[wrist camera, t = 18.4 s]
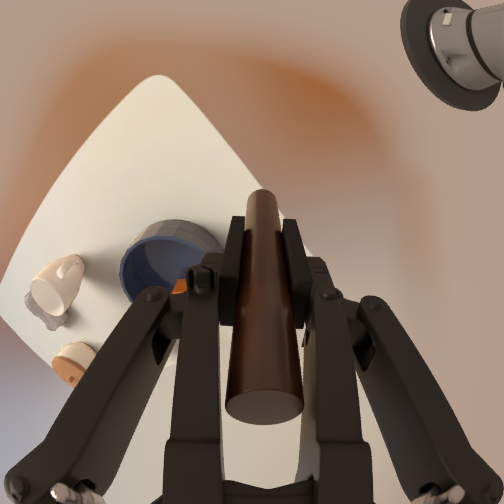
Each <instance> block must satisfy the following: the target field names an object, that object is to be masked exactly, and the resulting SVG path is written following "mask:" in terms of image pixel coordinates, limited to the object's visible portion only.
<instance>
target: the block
mask: <svg viewBox="0 0 504 504" xmlns="http://www.w3.org/2000/svg"><path fill="white" fill-rule="evenodd" d="M186 290H187V284H186V279H177V282H176V284H175V287H174V289H173V291H172V294H176V293H181V292H184V291H186Z"/></svg>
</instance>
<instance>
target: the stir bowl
mask: <svg viewBox="0 0 504 504" xmlns="http://www.w3.org/2000/svg"><path fill="white" fill-rule="evenodd" d="M207 252H217V253H224V250H223V248H222V247H221V245H220V244H219V242H218V241H217V240H216V239H215V238H214V237H213V236H212V235H211V234H210V233H209V232H208V231H206V230H205V229H203V228H202V227H200V226H198V225H196V224H193V223H190V222H187V221H182V220H164V221H160V222H157V223H154V224H152V225H150V226H149V227H147V228H146V229H145V230H144V231H143V232H142V233H140V234H139V236H138V237H137V238H136V239H135V240H134V242H133V243H132V244H131V245H130V247H129V248H128V249H127V251H126V253H125V254H124V256H123V258H122V260H121V264H120V273H119V276H120V280H121V284H122V288H123V290H124V292H125V294H126V295H127V297H128V299H129V301H130V302H131V303H133V302H134V301H135V299H136V298H137V296H138V295H139V294H140V293H141V292H142V291H143V290H144V289H146V288H148V287H152V286H160V287H163V288H165V289H167V290H168V292H169V294H172V291H173V289H174V287H175V284H176V282H177V279H186V273H185V272H186V270H187V269H188V268H189V267H191V266H193V265H196V264H200V262H201V259H202V257H203V256H204V255H205V254H206V253H207Z"/></svg>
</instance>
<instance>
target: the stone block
mask: <svg viewBox="0 0 504 504" xmlns="http://www.w3.org/2000/svg"><path fill="white" fill-rule="evenodd" d="M24 303H25V304H26V307H27V308H28V309H29V310H30V311H31V312H32V313H33V314H34V315H35V316H37V317H39V318H40V319H41V320H42V321H43V322H44V323H45V325H46V327H47V329H48V330H51V331H56V329H57V328H58V327H60V326H61V325H62V324H64V323H65V322H66V320H67V319H68V317H69V316H68V314H67V312H66V311H65V312H64V313H63V314H62V315H60V316H53V315H51V314H49V313H47V312H45V311H44V310H43V309H42V308H41V307H40V306H39V305H38V304H37V303H36V301H35V300H34V298H33V296H32V293H31V291H30V292H29V293H27V294H26V296H25V297H24Z"/></svg>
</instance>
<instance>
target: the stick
mask: <svg viewBox="0 0 504 504" xmlns="http://www.w3.org/2000/svg"><path fill="white" fill-rule="evenodd" d="M304 406H305V403H304V394H303V385H302V376H301V367H300V359H299V351H298V343H297V335H296V327H295V319H294V312H293V305H292V298H291V291H290V284H289V277H288V270H287V263H286V257H285V250H284V244H283V238H282V231H281V225H280V219H279V213H278V207H277V201H276V198H275V196H274V195H273V193H271V192H270V191H268V190H264V189H260V190H256V191H254V192H253V193H252V194H251V195H250V196H249V198H248V202H247V210H246V219H245V229H244V239H243V248H242V257H241V266H240V275H239V284H238V293H237V299H236V305H235V314H234V323H233V333H232V342H231V351H230V361H229V370H228V380H227V390H226V399H225V409H226V411H227V413H228V414H229V415H230V416H232V417H233V418H235V419H237V420H239V421H241V422H245V423H249V424H256V425H272V424H279V423H283V422H286V421H289V420H291V419H293V418H295V417H297V416H298V415H299V414H301V412H302V411H303V409H304Z"/></svg>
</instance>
